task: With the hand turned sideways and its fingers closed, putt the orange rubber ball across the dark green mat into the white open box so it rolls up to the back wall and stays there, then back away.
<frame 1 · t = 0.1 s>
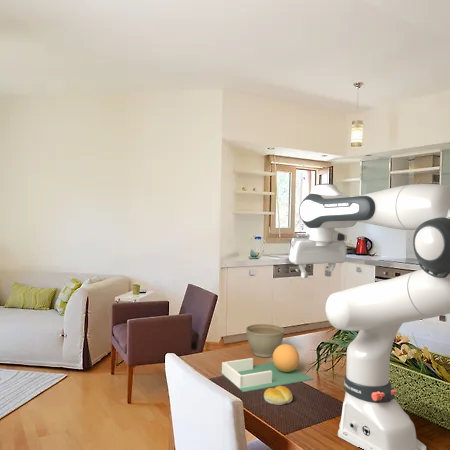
hand: (316, 276, 132), 39 cm above the table, tool pointing down, fingers open, 8 cm apart
planter bowl: (264, 354, 174), on the table
putting mat: (264, 375, 150), on the table
ball: (285, 357, 153), point 5 cm above the table, touching putting mat
bread roll: (278, 400, 130), on the table
white open box: (248, 378, 147), resting on putting mat
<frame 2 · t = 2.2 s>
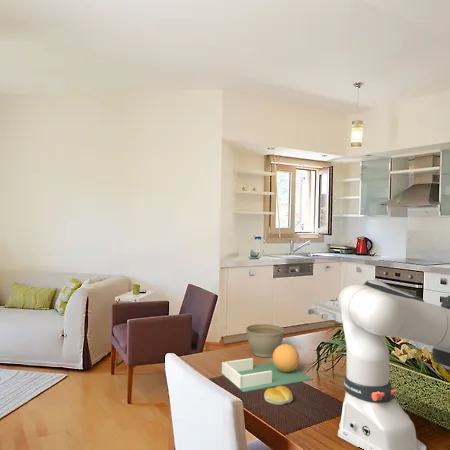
hand: (315, 314, 158), 21 cm above the table, tool horizontal, fingers open, 8 cm apart
nothing on the table moved.
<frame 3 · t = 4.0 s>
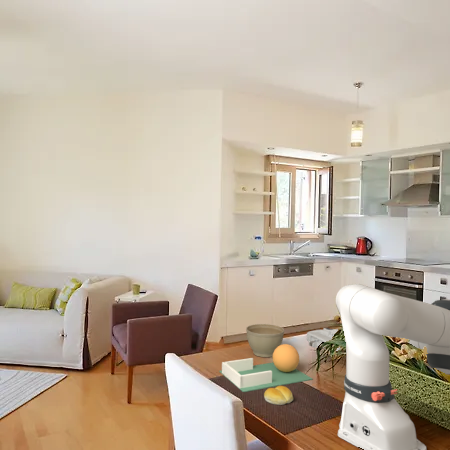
hand: (310, 344, 158), 9 cm above the table, tool horizontal, fingers closed
nothing on the table moved.
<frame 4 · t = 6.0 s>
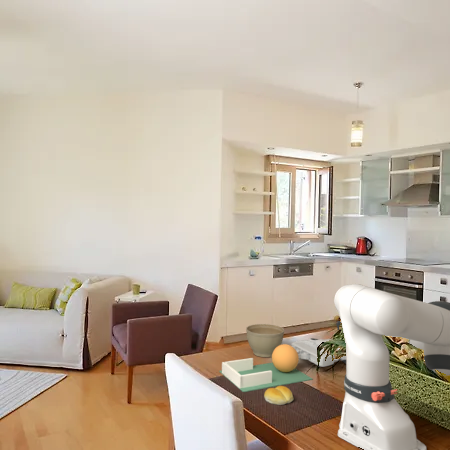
hand: (294, 355, 156), 5 cm above the table, tool horizontal, fingers closed
ball: (285, 358, 153), point 5 cm above the table, touching gripper, putting mat
everything else where it was.
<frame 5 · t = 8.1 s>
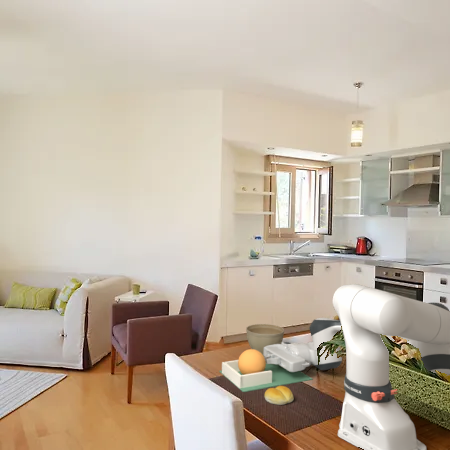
hand: (265, 360, 150), 5 cm above the table, tool horizontal, fingers closed
ball: (251, 363, 147), point 5 cm above the table, tilted 160°, touching putting mat
everything else where it was.
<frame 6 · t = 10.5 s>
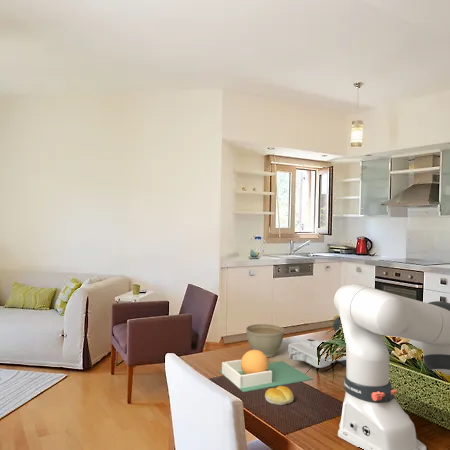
hand: (291, 357, 156), 5 cm above the table, tool horizontal, fingers closed
ball: (254, 364, 146), point 5 cm above the table, tilted 147°, touching putting mat
everything else where it was.
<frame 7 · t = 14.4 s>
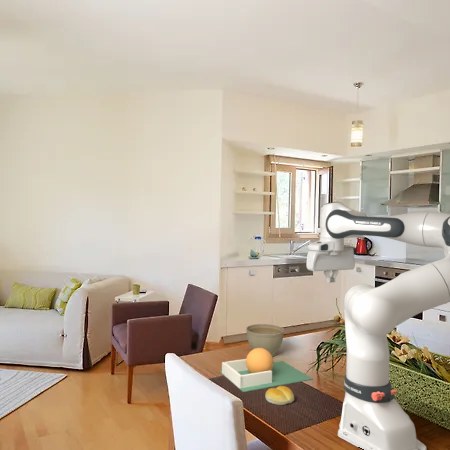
hand: (330, 282, 153), 34 cm above the table, tool pointing down, fingers closed
ball: (259, 362, 148), point 5 cm above the table, tilted 127°, touching putting mat
everything else where it was.
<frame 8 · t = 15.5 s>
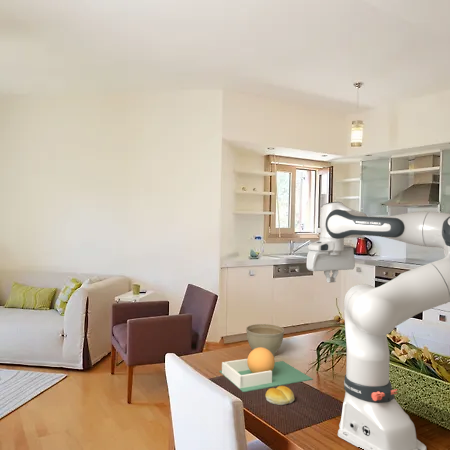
hand: (330, 282, 153), 34 cm above the table, tool pointing down, fingers closed
ball: (260, 361, 149), point 5 cm above the table, tilted 120°, touching putting mat
everything else where it was.
at the end: ball inside the target area on the white open box (5.7 cm from its centre), point 5.3 cm above the white open box's base; the gripper is holding nothing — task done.
